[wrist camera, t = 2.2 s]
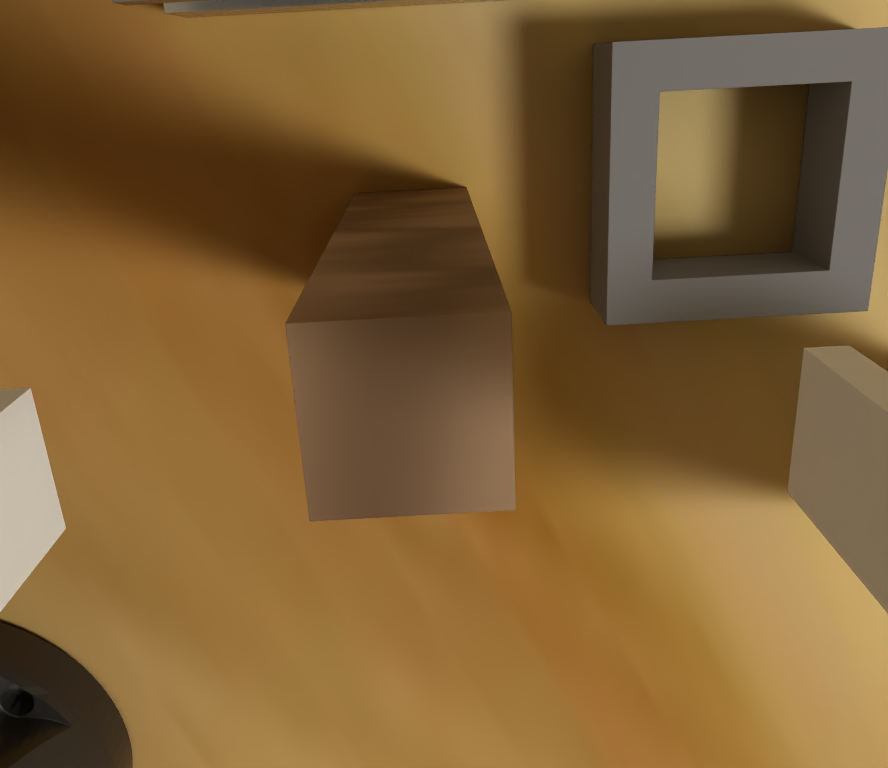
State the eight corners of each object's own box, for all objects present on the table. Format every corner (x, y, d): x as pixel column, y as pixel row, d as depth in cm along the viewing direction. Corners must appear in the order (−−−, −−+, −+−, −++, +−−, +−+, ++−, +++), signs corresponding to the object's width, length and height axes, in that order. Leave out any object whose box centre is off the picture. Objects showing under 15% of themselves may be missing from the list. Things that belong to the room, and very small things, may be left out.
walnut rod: (363, 301, 31) (309, 521, 16) (354, 193, 29) (285, 323, 15) (470, 295, 31) (515, 509, 16) (466, 187, 30) (511, 311, 15)
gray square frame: (590, 302, 31) (606, 325, 28) (593, 44, 28) (612, 42, 25) (827, 289, 31) (867, 310, 28) (858, 30, 28) (907, 26, 25)
